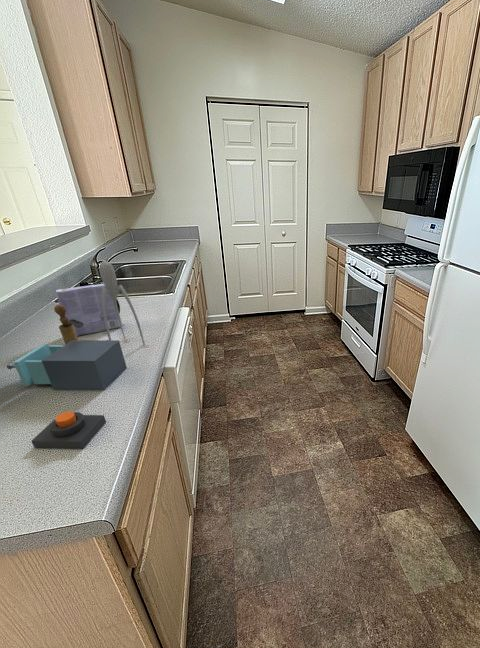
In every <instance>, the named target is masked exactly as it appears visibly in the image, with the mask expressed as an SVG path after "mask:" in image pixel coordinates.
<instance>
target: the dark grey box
mask: <svg viewBox="0 0 480 648" xmlns="http://www.w3.org/2000/svg"><path fill="white" fill-rule="evenodd" d="M42 363H43V365H44V368H45V370H46V373H47V375H48V377H49V380H50V382H51V384H50V385H51V387H52V390H53V391H83V392H84V391H86V392H87V391H89V392H90V391H95V392H98V391H100V392H101V391H102V392H104V391H106V390H107V388H109V387H110V386H111V385H112V384H113V383H114V381H116V379H118V378H119V376H120V375H122V374H123V373H124V371H126V369H128V367H127V363H126V360H125V356H124V353H123V350H122V346H121V342H120V340H119V339H118V340H116V339H115V340H112V339H111V340H109V339H107V340H104V339H103V340H95V339H93V340H92V339H91V340H90V339H84V340H83V339H78V340H72V341H70V342H69V343H67V344H66V345H65V344H64V346H63V347H61V348H60V349H58V350H57V351H55V352H54V353H52V354H51V355H49V356H48V357H46V358H45V359H43V360H42Z"/></svg>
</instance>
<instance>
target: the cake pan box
mask: <svg viewBox="0 0 480 648" xmlns="http://www.w3.org/2000/svg"><path fill="white" fill-rule="evenodd" d="M102 288H105V289H106V287H105V285H104V283H100V284H92V285H83V286H76V287H70V288H67V287H66V288H60V289H59V288H58V289H56V290H55V294H56V297H57V300H58V303H59V304H58V305H63V306H65V308H66V312H65V316H66V317H68V323H73V325H74V328H75V331H76V334H77V337H79V336H84V335H89V334H90V335H91V334H95V333H100V332H101V333H102V332H104V331H107V330H106V326H105V321H104V315H103V308H102ZM116 302H117V307H118V311H119V315H120V313H121V305H120V302H119V299H118V298H117V301H116ZM106 316H107V322H108V327H109V330H115V329H118V328H120V329H121V327H120V323H119V320H118V317H117V314H116V310H115V307H114V304H113V300H112V297H111V296H110V294H109V293H106ZM120 319H121V317H120ZM121 320H122V319H121ZM121 324H122V325H123V322H122V321H121Z"/></svg>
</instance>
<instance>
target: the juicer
mask: <svg viewBox="0 0 480 648" xmlns="http://www.w3.org/2000/svg"><path fill="white" fill-rule="evenodd" d="M98 267H99V268H98V269H99V274H100V278H101V280H102V284H104V285H105V287H106V289H105V288H102V308H103V315H104V321H105V326H106V330H105V331H106V335H107V337H108V340H112V338H111V333H110V329H109V327H108V322H107V316H106V293H109V294H110V296H111V297H112V300H113V304H114V307H115V310H116V314H117V317H118V320H119V323H120V330H121V333H122V336H123V339H124V341H126V336H125V332H124V328H123V323H122V324H121V322H122V319H120V318H121V315H120V314H119V311H118V307H117V302H116V301H117V299H118V292H121V293H122V295H123V297H124V299H125V300H126V302H127V304H128V306H129V308H130V310H131V311H132V312H131V313H132V314H133V317H134V320H135V322H136V325H137V328H138V331H139V335H140V339H141V341H142V345H143V346H145V345H146V343H145V340H144V339H145V338H144V335H143V332H142V327H141V324H140V322H139V318H138V315H137V313H136V311H135V308H134V305H133V303H132V301H131V299H130V297H129V295H128V293H127V291H126V290H125V288H124V287H123V285H122V284H119V285H118V280H117V275H116V271H115V269H114V268H115V267H114V266H113V265H112V264H111V262H109V261H107V260H103V261H101V262H100V264H99V266H98Z"/></svg>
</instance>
